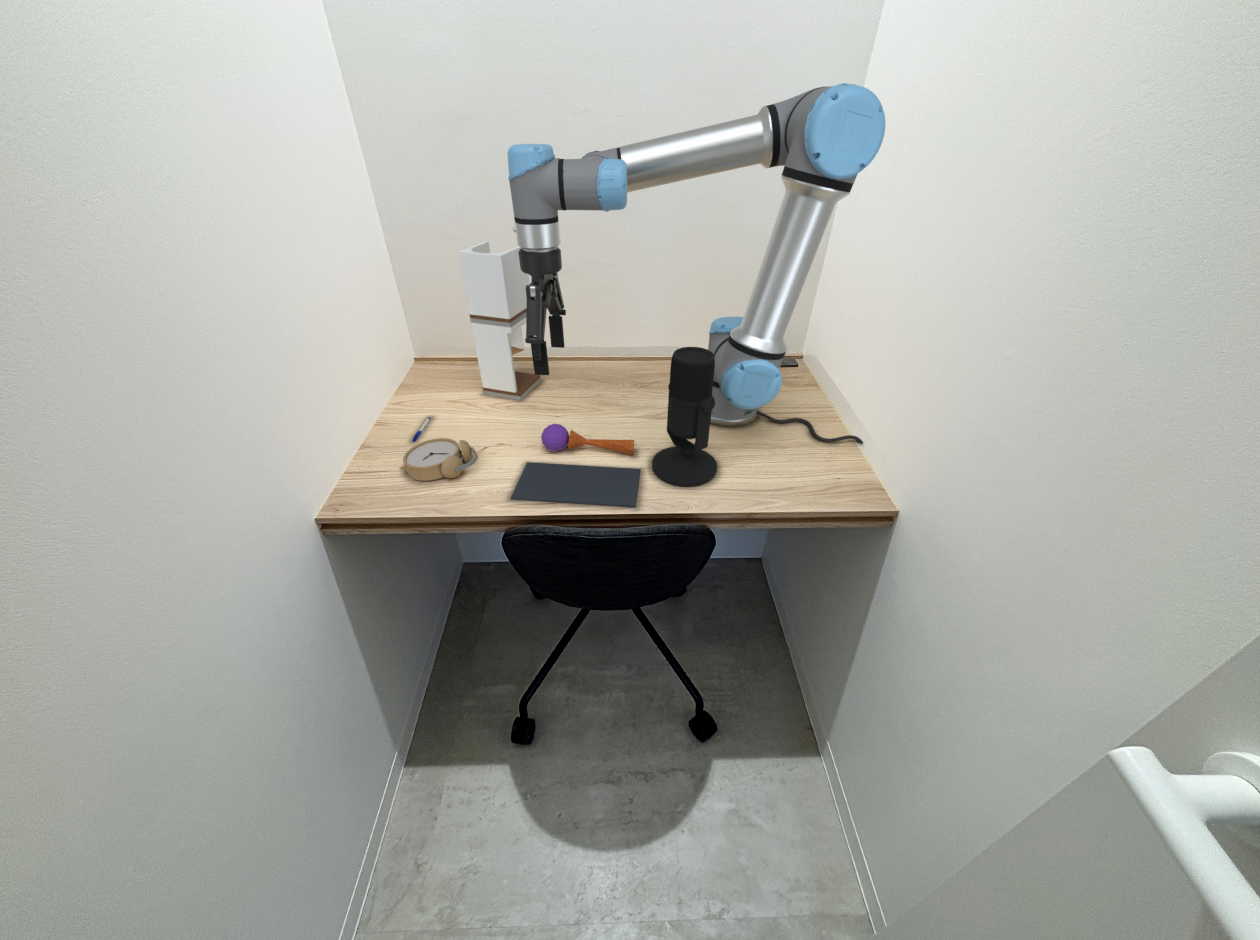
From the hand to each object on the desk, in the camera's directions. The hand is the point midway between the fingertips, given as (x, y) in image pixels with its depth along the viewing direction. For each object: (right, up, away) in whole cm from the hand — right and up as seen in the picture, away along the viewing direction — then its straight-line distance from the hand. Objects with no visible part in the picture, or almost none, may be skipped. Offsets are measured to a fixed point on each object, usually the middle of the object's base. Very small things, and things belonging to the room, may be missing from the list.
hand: (550, 360), depth 102 cm
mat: (+6, -25, -1) cm, 26 cm away
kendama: (+7, -18, +8) cm, 21 cm away
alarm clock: (-23, -22, +3) cm, 32 cm away
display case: (-15, -1, +33) cm, 36 cm away
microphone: (+28, -22, +4) cm, 35 cm away
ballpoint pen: (-32, -13, +16) cm, 38 cm away
